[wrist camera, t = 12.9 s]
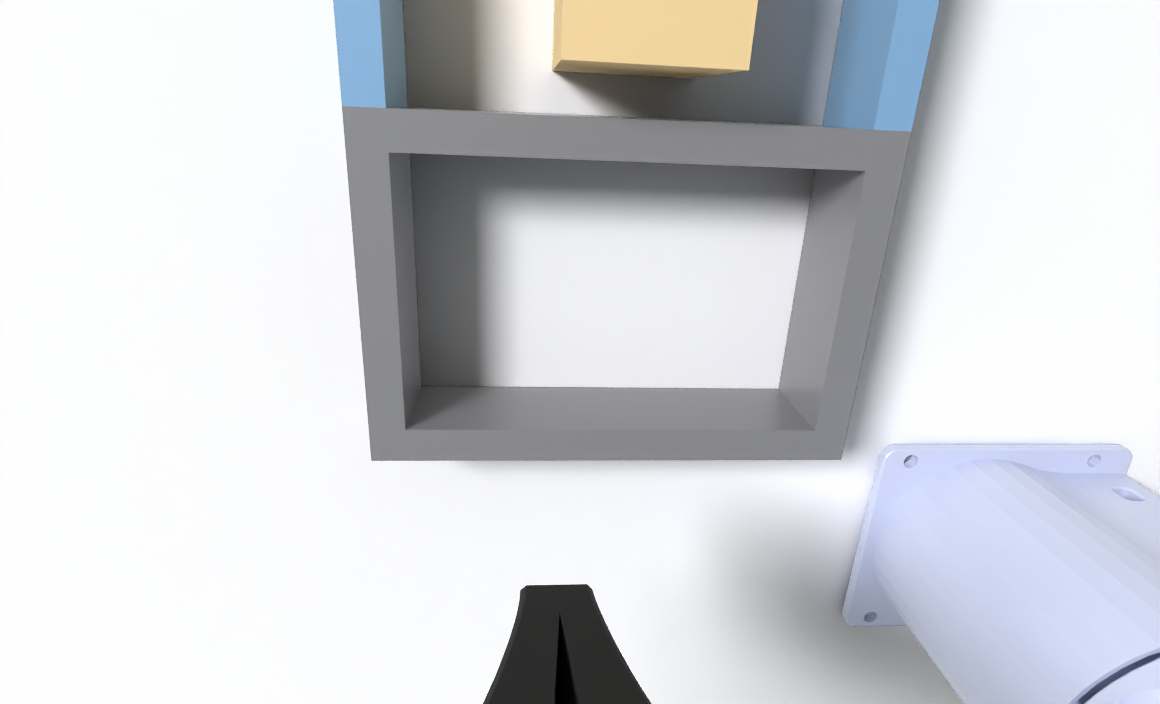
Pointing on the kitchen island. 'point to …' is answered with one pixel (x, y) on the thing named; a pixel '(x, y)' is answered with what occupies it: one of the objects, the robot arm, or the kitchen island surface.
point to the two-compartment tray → (835, 150)
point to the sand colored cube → (653, 37)
